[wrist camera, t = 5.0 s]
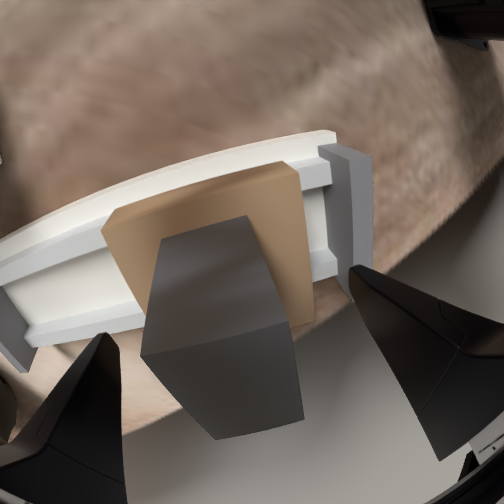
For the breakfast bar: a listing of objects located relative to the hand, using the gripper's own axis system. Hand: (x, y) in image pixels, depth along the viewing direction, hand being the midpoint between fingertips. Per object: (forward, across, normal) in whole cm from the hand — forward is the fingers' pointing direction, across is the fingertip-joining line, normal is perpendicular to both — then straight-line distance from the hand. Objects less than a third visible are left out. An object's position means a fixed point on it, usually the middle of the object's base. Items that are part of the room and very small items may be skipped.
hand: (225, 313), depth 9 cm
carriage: (+4, 0, 0) cm, 4 cm away
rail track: (+6, +4, 0) cm, 8 cm away
